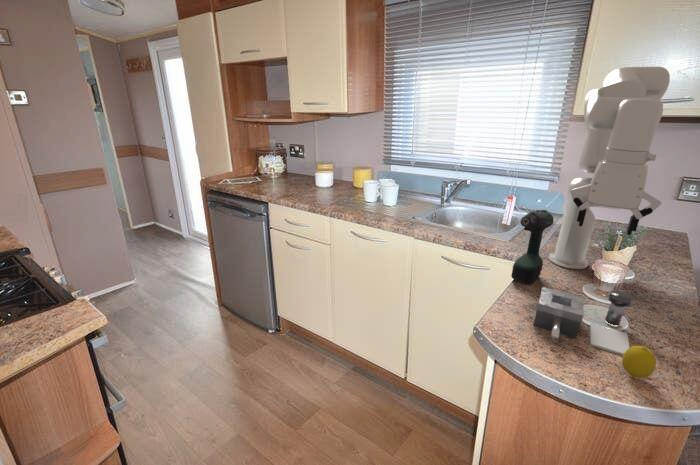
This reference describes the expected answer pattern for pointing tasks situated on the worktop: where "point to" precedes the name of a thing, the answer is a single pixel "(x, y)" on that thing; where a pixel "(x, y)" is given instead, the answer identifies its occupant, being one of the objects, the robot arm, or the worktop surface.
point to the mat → (608, 339)
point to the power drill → (532, 247)
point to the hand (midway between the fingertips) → (603, 228)
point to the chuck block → (559, 313)
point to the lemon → (639, 361)
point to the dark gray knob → (617, 306)
